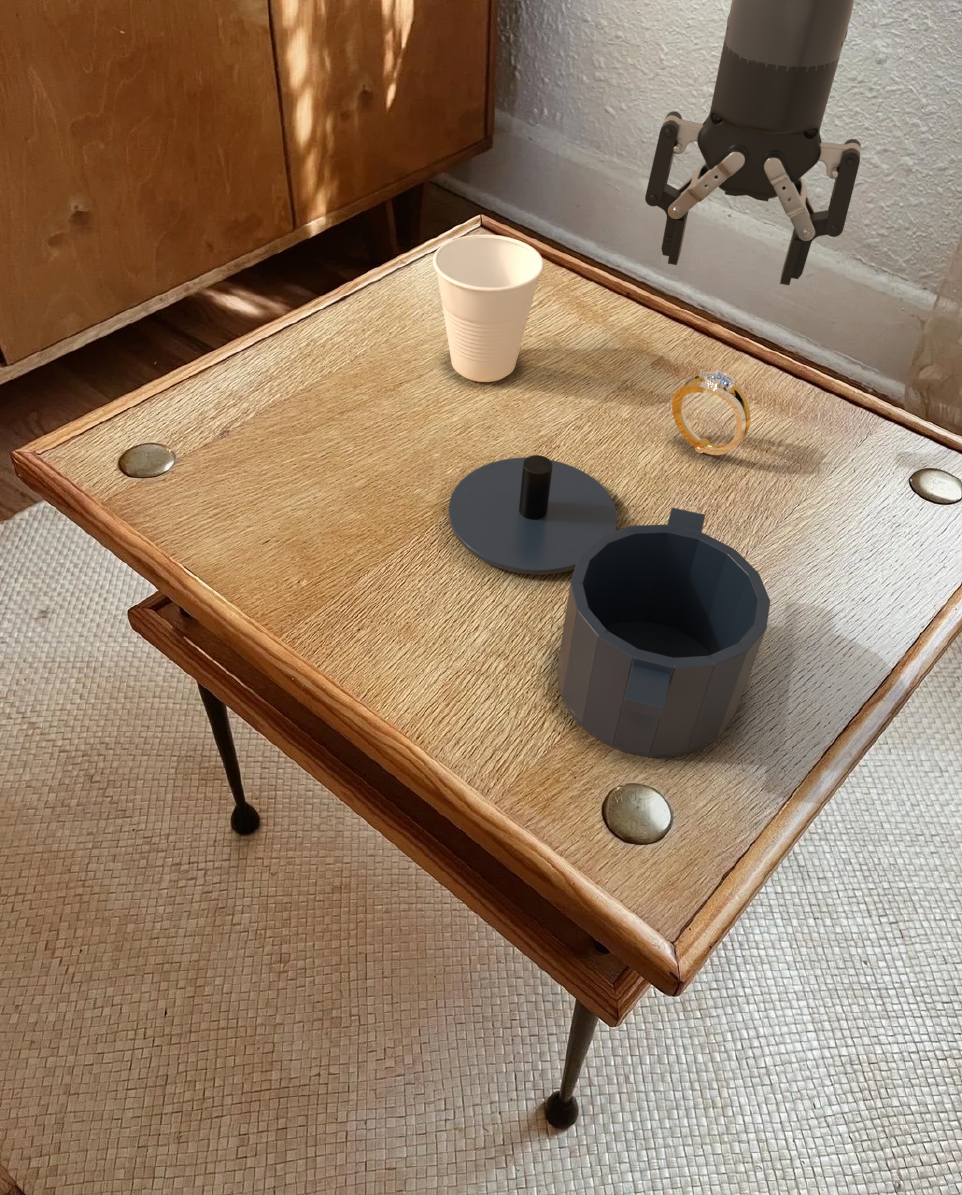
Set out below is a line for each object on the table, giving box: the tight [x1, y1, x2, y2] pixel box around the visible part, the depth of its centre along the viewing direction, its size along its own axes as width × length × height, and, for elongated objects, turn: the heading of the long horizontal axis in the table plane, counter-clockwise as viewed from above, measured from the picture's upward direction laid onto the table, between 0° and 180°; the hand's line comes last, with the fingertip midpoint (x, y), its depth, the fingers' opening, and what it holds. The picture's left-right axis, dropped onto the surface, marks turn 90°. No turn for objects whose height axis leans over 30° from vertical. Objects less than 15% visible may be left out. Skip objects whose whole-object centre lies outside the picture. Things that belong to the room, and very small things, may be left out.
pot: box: [556, 507, 771, 758], centre depth 69 cm, size 13×18×10 cm
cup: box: [432, 234, 545, 383], centre depth 95 cm, size 10×10×11 cm
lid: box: [448, 454, 618, 575], centre depth 82 cm, size 14×14×6 cm
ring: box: [671, 368, 751, 456], centre depth 89 cm, size 7×3×8 cm, turn 45°
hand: (729, 270), depth 78 cm, fingers open, 8 cm apart
